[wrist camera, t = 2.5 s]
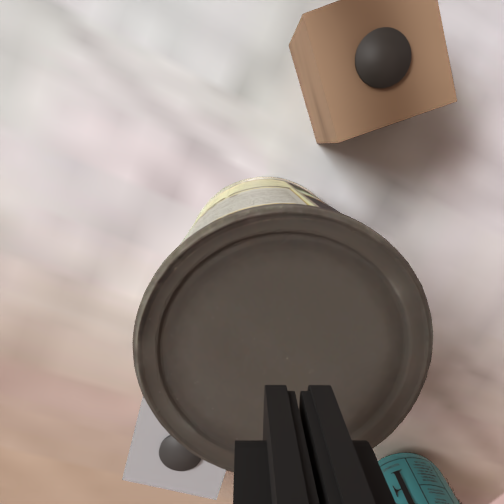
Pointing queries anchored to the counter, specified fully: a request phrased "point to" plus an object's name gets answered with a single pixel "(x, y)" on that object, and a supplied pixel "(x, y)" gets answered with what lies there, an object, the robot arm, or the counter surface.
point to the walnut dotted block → (370, 65)
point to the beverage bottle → (415, 480)
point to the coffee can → (279, 320)
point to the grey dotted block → (168, 461)
